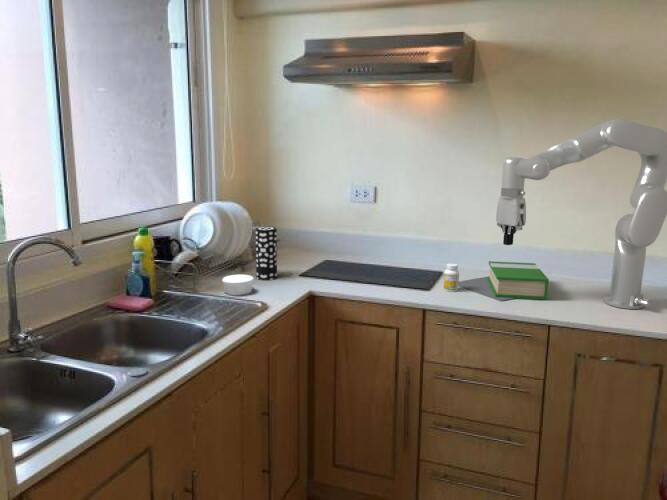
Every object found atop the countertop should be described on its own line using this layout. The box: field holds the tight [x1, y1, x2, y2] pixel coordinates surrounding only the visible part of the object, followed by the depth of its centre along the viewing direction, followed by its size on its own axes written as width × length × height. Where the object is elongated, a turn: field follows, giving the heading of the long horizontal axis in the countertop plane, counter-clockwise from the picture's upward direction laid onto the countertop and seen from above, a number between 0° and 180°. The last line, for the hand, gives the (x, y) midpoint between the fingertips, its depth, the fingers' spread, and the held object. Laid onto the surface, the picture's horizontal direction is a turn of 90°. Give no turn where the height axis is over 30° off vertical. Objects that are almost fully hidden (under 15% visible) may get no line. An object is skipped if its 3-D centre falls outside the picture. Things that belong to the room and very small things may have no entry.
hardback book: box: [487, 260, 550, 300], centre depth 214 cm, size 18×7×24 cm
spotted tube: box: [254, 226, 278, 281], centre depth 225 cm, size 8×8×20 cm
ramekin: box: [221, 273, 255, 296], centre depth 207 cm, size 11×11×5 cm
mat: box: [458, 275, 517, 302], centre depth 217 cm, size 26×24×1 cm
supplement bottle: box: [443, 263, 460, 292], centre depth 212 cm, size 5×5×10 cm
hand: (508, 244), depth 203 cm, fingers closed
